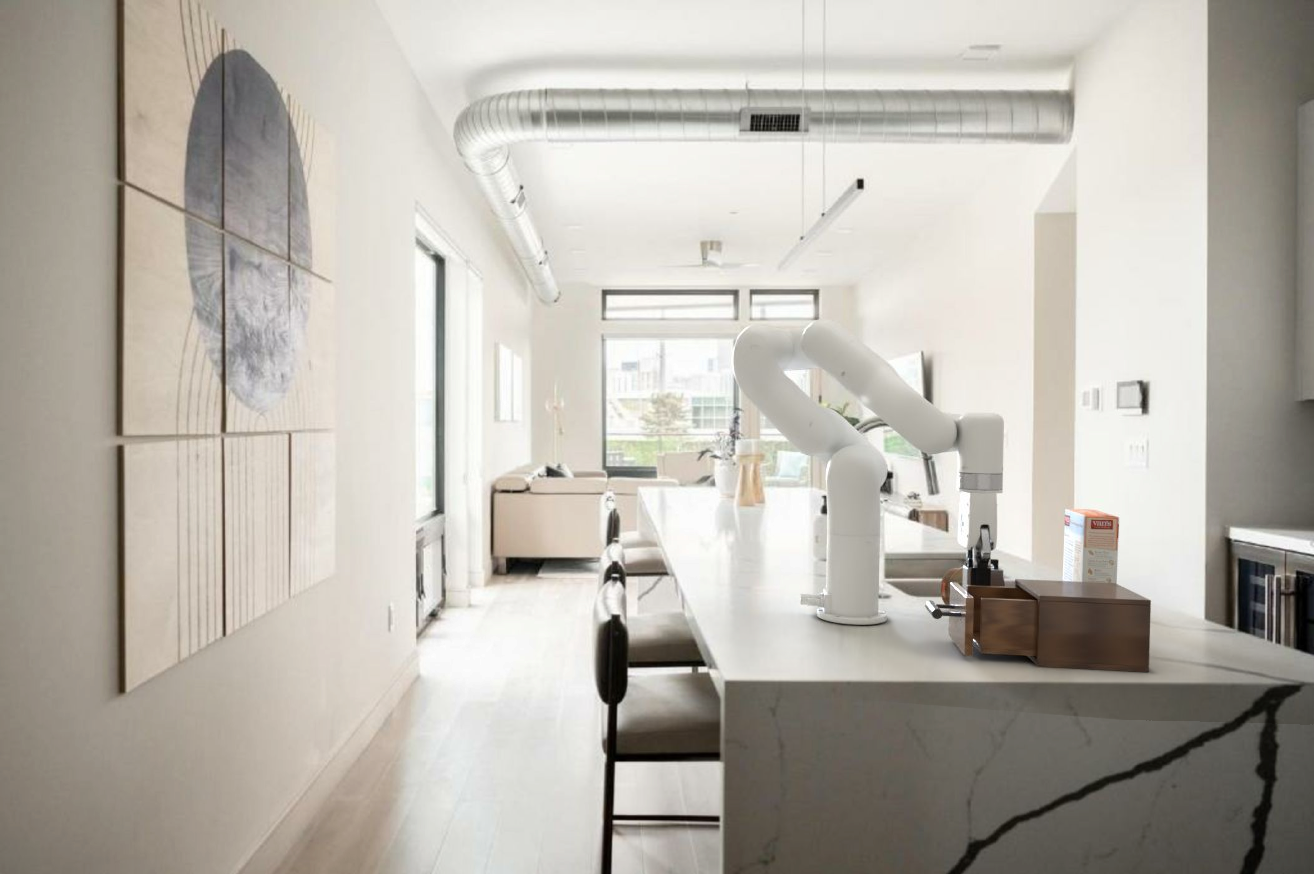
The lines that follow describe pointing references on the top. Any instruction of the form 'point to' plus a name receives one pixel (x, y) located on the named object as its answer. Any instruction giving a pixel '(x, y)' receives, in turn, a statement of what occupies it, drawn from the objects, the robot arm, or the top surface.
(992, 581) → the grater
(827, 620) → the robot arm
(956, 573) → the tin
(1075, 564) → the cracker box
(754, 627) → the top surface
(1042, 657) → the cabinet
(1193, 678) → the top surface
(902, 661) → the top surface
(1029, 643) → the drawer
